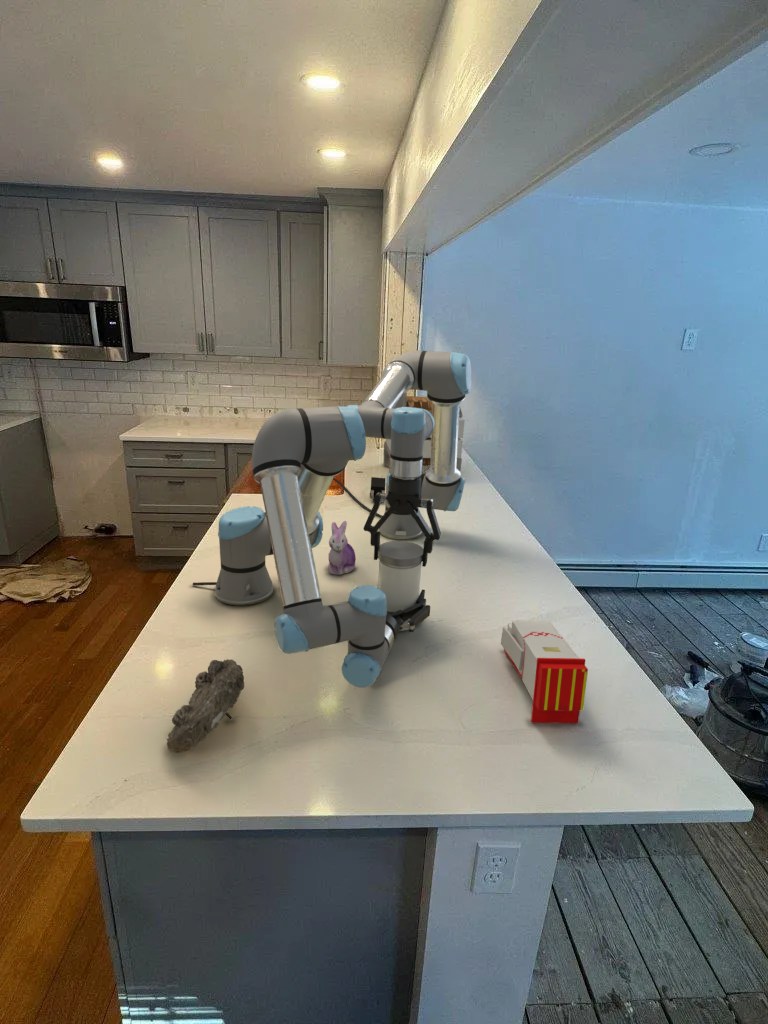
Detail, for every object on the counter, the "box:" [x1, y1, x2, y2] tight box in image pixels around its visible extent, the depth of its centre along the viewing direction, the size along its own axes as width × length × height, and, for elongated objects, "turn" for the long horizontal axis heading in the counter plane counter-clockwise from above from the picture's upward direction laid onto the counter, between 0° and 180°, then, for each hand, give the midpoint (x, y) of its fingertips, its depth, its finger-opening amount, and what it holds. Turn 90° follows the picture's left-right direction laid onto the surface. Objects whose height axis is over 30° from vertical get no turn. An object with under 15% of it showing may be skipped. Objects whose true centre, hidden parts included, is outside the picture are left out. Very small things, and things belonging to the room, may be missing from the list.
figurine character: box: [369, 476, 386, 503], centre depth 234 cm, size 7×8×15 cm
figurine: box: [327, 520, 357, 576], centre depth 168 cm, size 9×10×15 cm
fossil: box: [166, 658, 245, 754], centre depth 106 cm, size 22×10×15 cm
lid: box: [377, 540, 424, 567], centre depth 138 cm, size 11×11×2 cm
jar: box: [377, 559, 422, 632], centre depth 141 cm, size 10×10×19 cm
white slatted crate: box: [383, 392, 465, 475], centre depth 268 cm, size 34×33×41 cm
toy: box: [500, 620, 589, 724], centre depth 121 cm, size 12×13×30 cm
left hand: (402, 590), depth 146 cm, fingers closed on jar, 10 cm apart
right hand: (400, 561), depth 139 cm, fingers closed on lid, 11 cm apart
